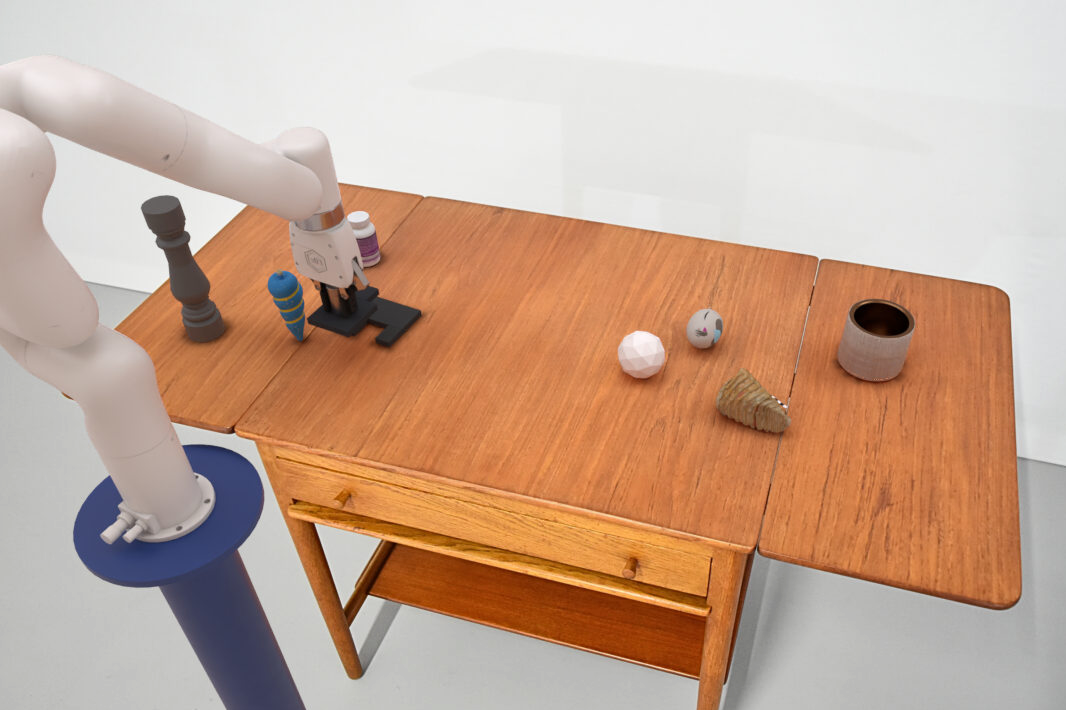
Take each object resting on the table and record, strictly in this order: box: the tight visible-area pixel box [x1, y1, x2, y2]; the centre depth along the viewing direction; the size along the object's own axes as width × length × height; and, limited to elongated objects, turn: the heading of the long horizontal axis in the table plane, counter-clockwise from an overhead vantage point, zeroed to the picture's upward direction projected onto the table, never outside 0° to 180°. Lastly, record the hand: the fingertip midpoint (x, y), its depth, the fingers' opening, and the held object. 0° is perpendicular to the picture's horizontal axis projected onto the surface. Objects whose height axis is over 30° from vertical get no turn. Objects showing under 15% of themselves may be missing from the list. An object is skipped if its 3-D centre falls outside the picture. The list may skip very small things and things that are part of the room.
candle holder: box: [140, 194, 226, 344], centre depth 147 cm, size 6×6×25 cm
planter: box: [837, 298, 917, 382], centre depth 149 cm, size 11×11×10 cm
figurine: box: [685, 306, 724, 349], centre depth 152 cm, size 8×6×7 cm
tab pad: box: [306, 284, 380, 338], centre depth 145 cm, size 12×8×7 cm
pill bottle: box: [346, 210, 381, 268], centre depth 169 cm, size 5×5×10 cm
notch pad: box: [351, 296, 423, 349], centre depth 157 cm, size 10×10×1 cm
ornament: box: [267, 269, 306, 342], centre depth 149 cm, size 5×5×15 cm
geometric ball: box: [617, 330, 666, 379], centre depth 147 cm, size 8×8×8 cm
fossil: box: [715, 367, 792, 433], centre depth 141 cm, size 12×6×9 cm
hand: (341, 309), depth 145 cm, fingers closed on tab pad, 3 cm apart
